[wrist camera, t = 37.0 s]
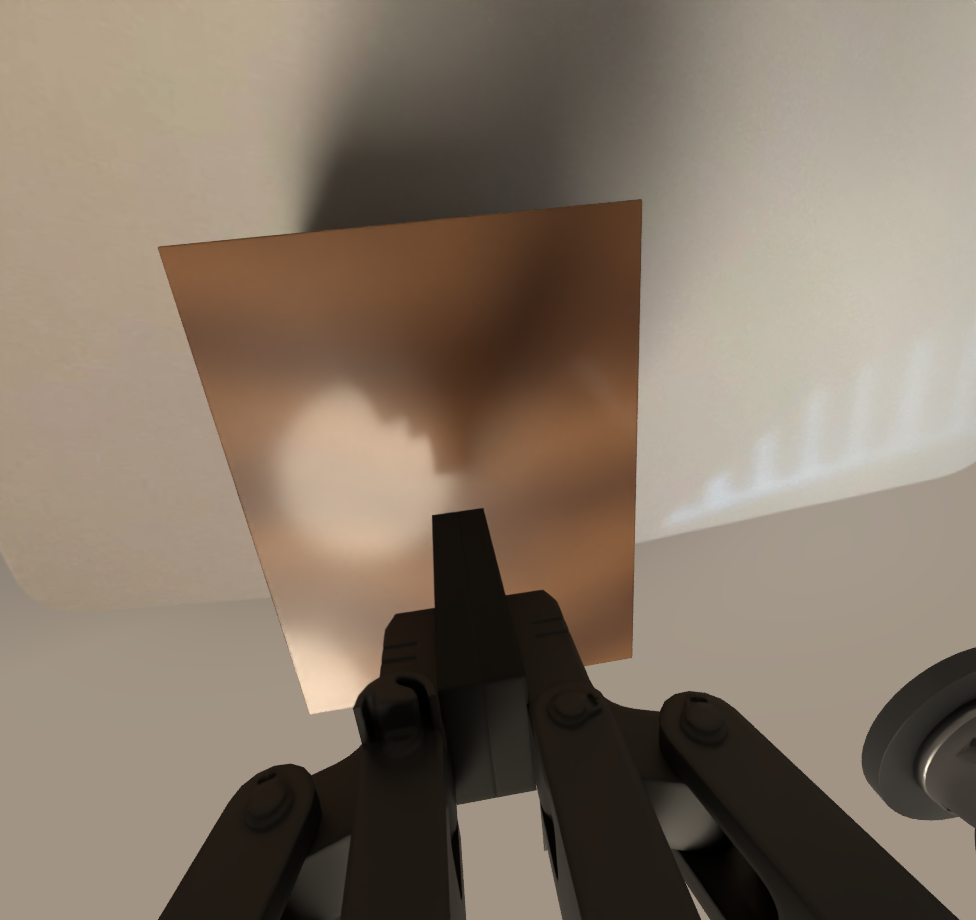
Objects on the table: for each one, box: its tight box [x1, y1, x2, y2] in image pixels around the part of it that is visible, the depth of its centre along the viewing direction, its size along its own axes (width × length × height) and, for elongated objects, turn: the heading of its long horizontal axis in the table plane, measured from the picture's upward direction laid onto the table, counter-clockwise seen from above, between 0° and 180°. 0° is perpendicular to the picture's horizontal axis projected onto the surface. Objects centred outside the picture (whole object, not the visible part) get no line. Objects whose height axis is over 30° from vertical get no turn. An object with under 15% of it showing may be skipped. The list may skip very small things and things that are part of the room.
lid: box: [158, 199, 642, 715], centre depth 19 cm, size 19×15×1 cm
